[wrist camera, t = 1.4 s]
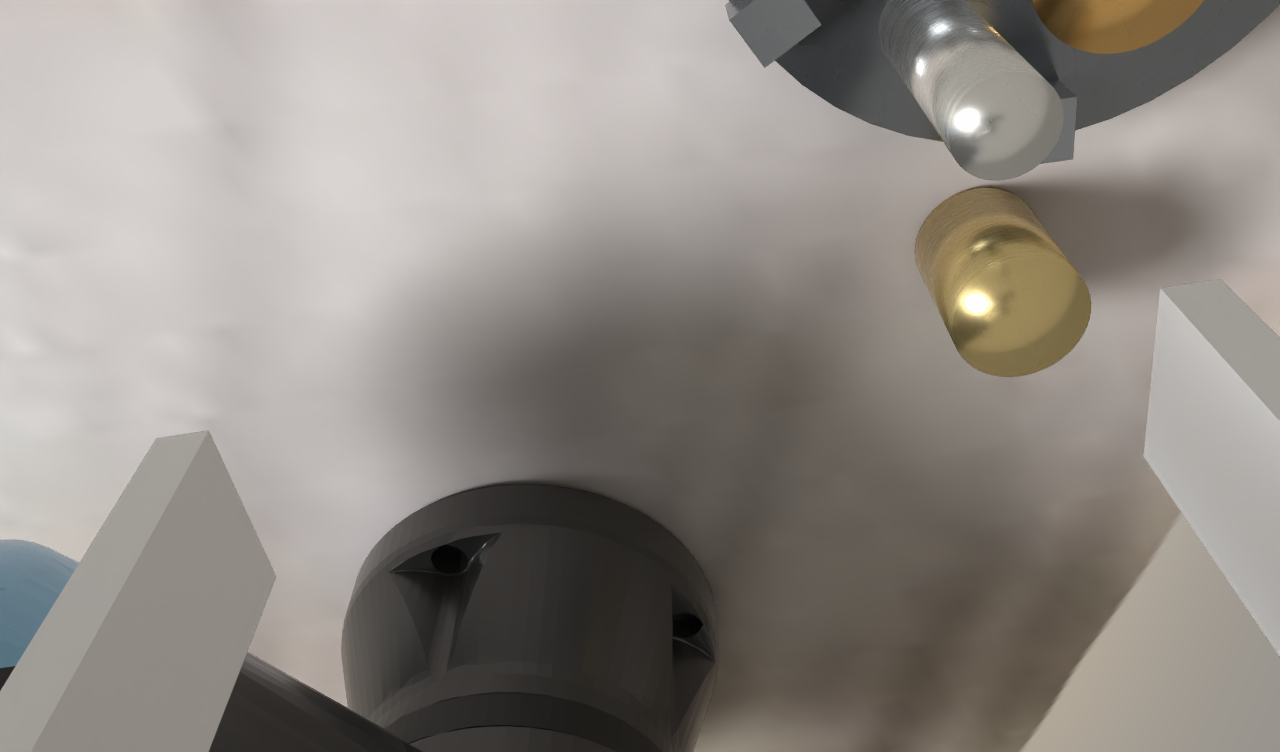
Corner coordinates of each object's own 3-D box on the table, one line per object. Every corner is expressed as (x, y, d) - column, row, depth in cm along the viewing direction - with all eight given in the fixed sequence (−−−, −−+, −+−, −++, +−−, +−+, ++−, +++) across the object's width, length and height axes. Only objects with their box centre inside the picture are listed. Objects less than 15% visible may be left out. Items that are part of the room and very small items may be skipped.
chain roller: (996, 312, 38) (1042, 393, 33) (893, 274, 37) (927, 352, 33) (1061, 212, 36) (1118, 285, 31) (953, 170, 35) (998, 238, 31)
